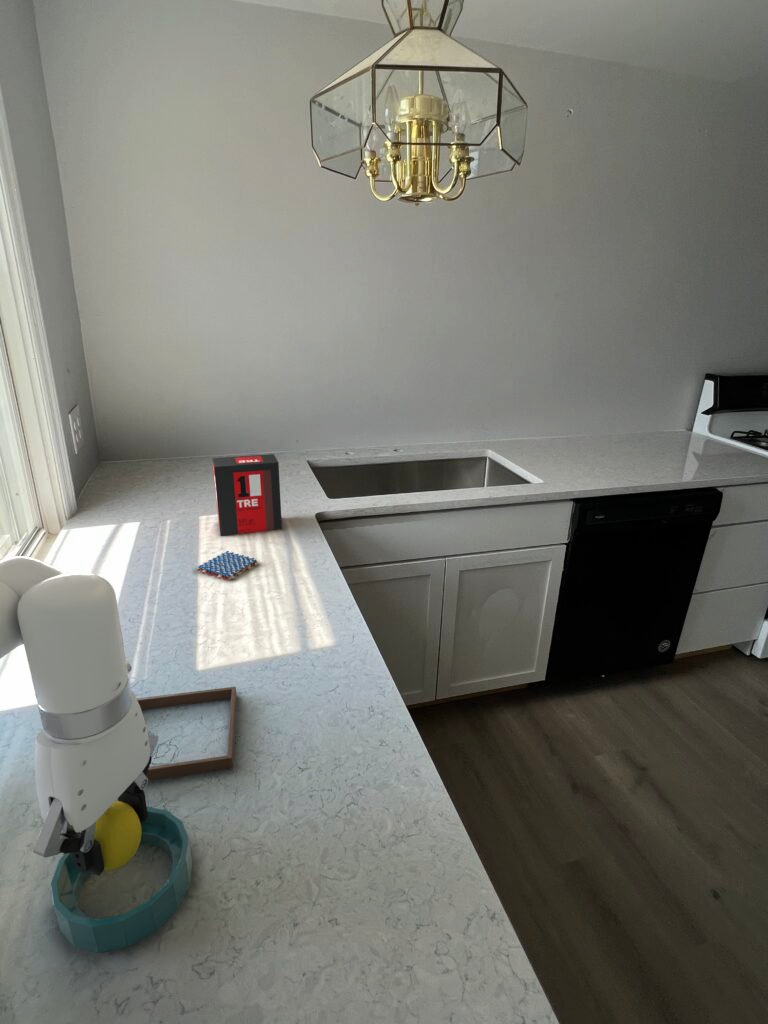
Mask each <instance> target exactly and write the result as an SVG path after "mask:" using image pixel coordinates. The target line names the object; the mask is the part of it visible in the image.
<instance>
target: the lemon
mask: <svg viewBox="0 0 768 1024" xmlns="http://www.w3.org/2000/svg"><path fill="white" fill-rule="evenodd" d="M141 833H142V830H141V824H140V820H139V817H138V815H137V814H136V812H135V810H134V809H133V808H132V807H131V806H130V805H128V804H127V803H124V802H120V801H118V800H116V801H115V802H114V803H113V804H112V805H111V806H110V807H109V808H108V809H107V810H106V811H105V812H104V813H103V814H102V815H101V816H100V817H99V819H98V820H97V821H96V826H95V835H94V840H96V841H98V842H99V843H100V846H101V851H102V856H103V861H104V866H105V867H104V871H103V872H113V871H115V870H119V869H120V868H123V867H124V866H125V865H126V864H128V863H129V862H130V861H131V860H132V859H133V858H134V857H135V854H136V853H137V851H138V850H139V847H140V846H141V845H140V841H141Z"/></svg>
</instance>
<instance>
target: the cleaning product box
mask: <svg viewBox="0 0 768 1024" xmlns="http://www.w3.org/2000/svg"><path fill="white" fill-rule="evenodd" d="M279 464H280V463H279V461H278V459H277V457H276V455H275V453H272V454H271V453H268V454H254V455H240V456H239V455H238V456H224V457H223V456H221V457H212V468H213V477H214V490H215V499H216V510H217V520H218V529H219V536H220V537H225V536H235V535H244V534H253V533H263V532H272V531H274V532H275V531H282V530H283V521H282V519H283V518H282V502H281V501H282V500H281V483H280V465H279Z"/></svg>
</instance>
